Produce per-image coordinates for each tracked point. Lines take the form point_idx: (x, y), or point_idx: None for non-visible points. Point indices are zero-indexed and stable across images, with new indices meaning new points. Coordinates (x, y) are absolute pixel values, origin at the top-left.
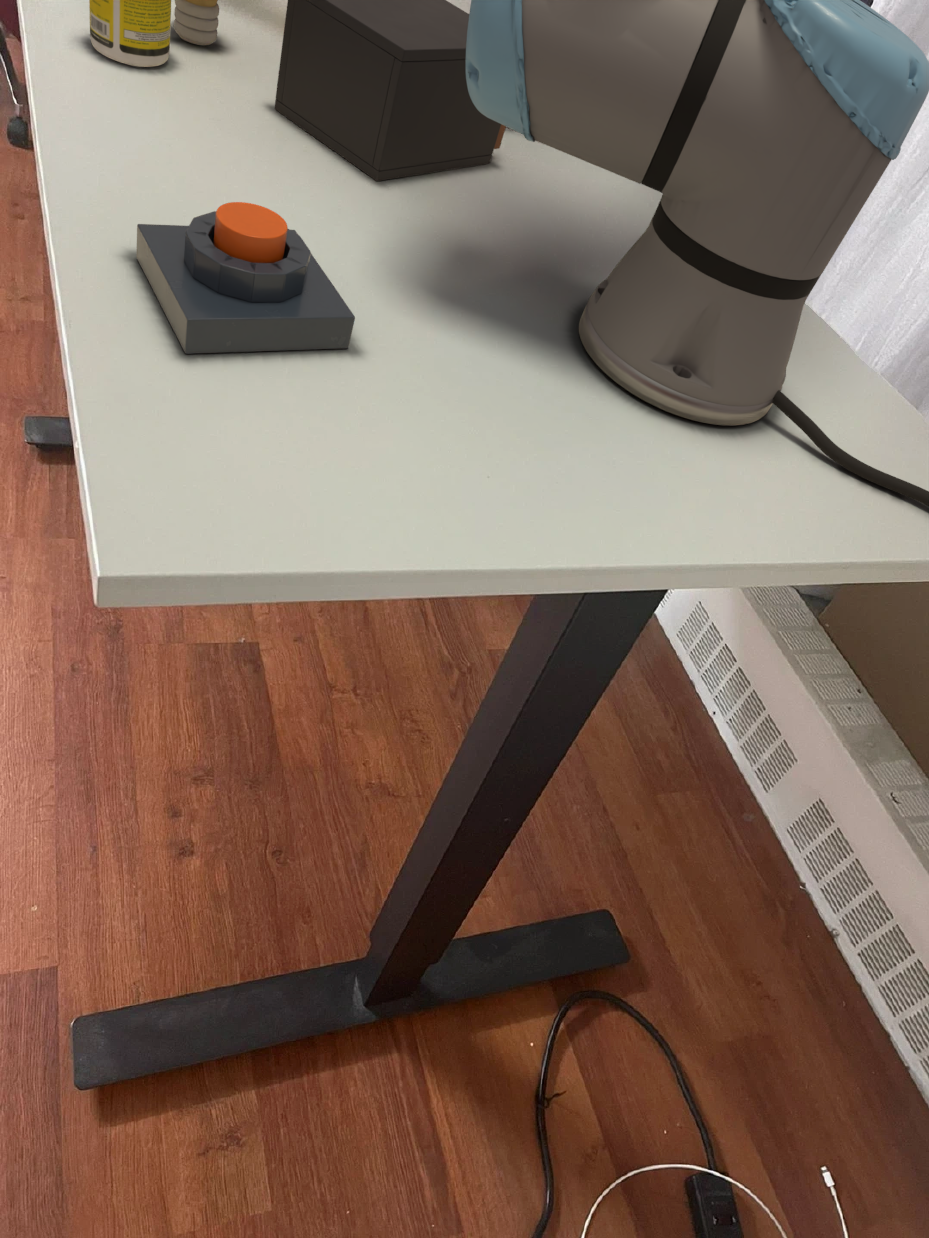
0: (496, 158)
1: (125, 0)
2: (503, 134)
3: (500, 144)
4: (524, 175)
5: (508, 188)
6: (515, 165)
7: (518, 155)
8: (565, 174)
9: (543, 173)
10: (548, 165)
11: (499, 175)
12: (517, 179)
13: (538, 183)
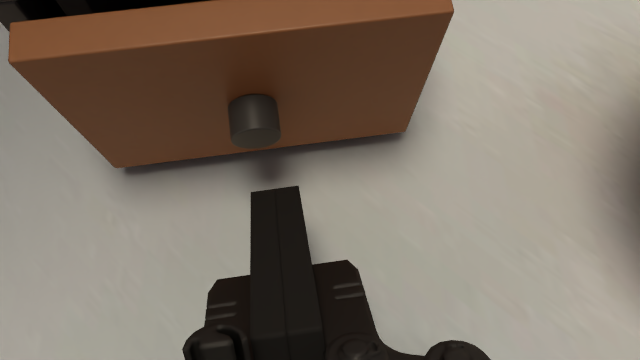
0: (127, 180)
1: None
2: (104, 156)
3: (112, 164)
4: (43, 197)
5: (10, 108)
6: (88, 210)
7: (128, 262)
8: (13, 340)
9: (36, 266)
10: (65, 321)
11: (60, 128)
12: (34, 162)
13: (3, 208)
